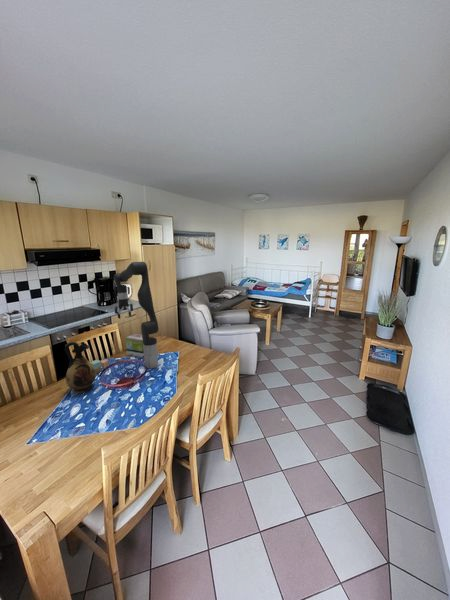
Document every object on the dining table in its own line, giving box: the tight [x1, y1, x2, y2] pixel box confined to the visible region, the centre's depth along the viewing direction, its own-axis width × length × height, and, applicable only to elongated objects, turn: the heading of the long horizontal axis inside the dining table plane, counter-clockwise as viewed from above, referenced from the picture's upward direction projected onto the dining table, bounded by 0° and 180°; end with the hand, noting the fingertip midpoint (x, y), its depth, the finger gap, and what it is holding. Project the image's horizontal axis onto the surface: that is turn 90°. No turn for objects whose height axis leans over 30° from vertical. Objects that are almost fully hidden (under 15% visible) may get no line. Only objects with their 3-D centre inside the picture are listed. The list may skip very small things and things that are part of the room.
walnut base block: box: [95, 367, 103, 375], centre depth 164 cm, size 6×6×4 cm
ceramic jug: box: [64, 341, 97, 394], centre depth 143 cm, size 17×15×30 cm
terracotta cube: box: [100, 359, 110, 369], centre depth 171 cm, size 4×4×4 cm
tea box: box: [125, 333, 144, 358], centre depth 192 cm, size 15×10×15 cm, turn 73°
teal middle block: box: [89, 359, 102, 369], centre depth 163 cm, size 5×5×4 cm
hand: (124, 317), depth 198 cm, fingers open, 8 cm apart
